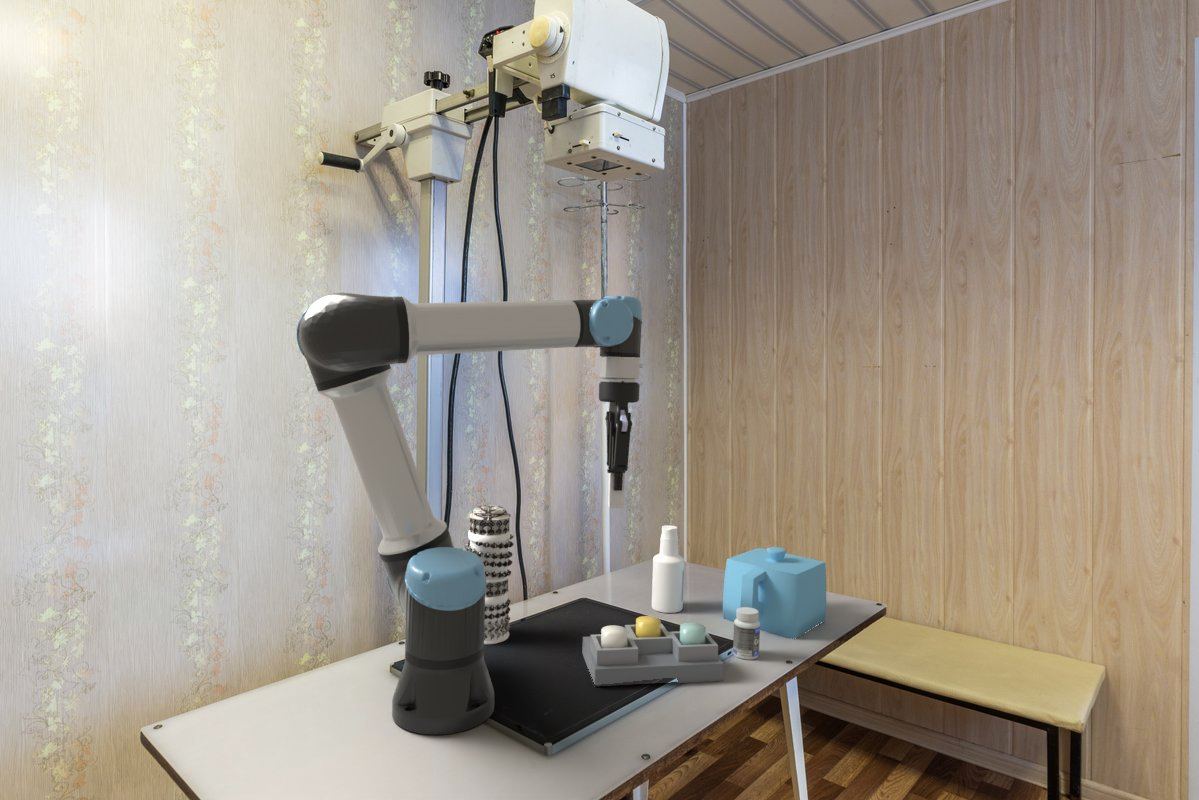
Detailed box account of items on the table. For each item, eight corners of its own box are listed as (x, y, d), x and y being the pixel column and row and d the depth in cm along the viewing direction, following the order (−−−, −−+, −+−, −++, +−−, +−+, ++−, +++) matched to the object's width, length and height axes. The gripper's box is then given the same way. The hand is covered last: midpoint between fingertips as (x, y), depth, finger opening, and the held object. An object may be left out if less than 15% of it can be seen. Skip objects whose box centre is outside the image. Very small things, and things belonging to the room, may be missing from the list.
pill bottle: (759, 661, 130) (760, 615, 129) (732, 658, 131) (734, 613, 130) (758, 651, 134) (760, 607, 134) (733, 648, 135) (734, 605, 135)
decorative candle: (521, 634, 139) (524, 507, 138) (487, 649, 132) (490, 514, 131) (487, 623, 145) (490, 500, 143) (453, 636, 137) (455, 507, 136)
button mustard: (638, 647, 126) (639, 625, 125) (633, 638, 130) (633, 616, 130) (662, 646, 126) (663, 624, 126) (656, 637, 131) (657, 615, 130)
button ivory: (603, 658, 120) (603, 635, 120) (598, 648, 125) (599, 625, 125) (628, 657, 121) (629, 634, 121) (623, 647, 125) (624, 624, 125)
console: (594, 687, 117) (595, 654, 117) (582, 652, 131) (583, 623, 131) (722, 680, 121) (724, 648, 121) (697, 648, 135) (698, 619, 135)
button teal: (683, 655, 123) (684, 632, 123) (676, 645, 127) (677, 623, 127) (708, 654, 124) (709, 631, 123) (700, 644, 128) (701, 622, 128)
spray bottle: (687, 607, 158) (690, 526, 157) (674, 616, 152) (676, 532, 151) (660, 601, 161) (663, 522, 160) (645, 609, 156) (648, 527, 155)
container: (709, 623, 148) (711, 550, 148) (767, 596, 167) (770, 531, 166) (784, 647, 137) (787, 567, 136) (838, 615, 156) (841, 545, 155)
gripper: (647, 382, 127) (643, 514, 128) (631, 380, 140) (628, 500, 141) (605, 381, 126) (601, 514, 127) (593, 379, 138) (590, 500, 140)
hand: (615, 506), depth 134 cm, fingers closed
